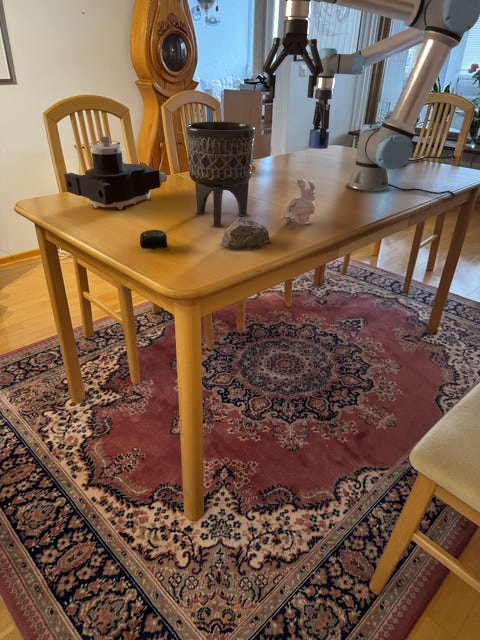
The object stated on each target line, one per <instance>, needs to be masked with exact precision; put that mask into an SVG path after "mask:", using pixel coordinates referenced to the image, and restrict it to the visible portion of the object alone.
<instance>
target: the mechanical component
mask: <svg viewBox="0 0 480 640" xmlns="http://www.w3.org/2000/svg"><path fill="white" fill-rule="evenodd" d="M122 149H123V148H122V145H121V144H118V143H111V139H110V136H109V135H103V136H100V143H97V144H93V145H91V146H90V151H91V157H92V165H93V167H92V168H88V169H86V171H85V172H84V173H85V174H78V173H73V172H68V173H67V172H66V173H64V174H63V176H64V181H65V186H66V192H67V193H69V194H72V195H75V196H78V197H83V198H85V199H88V201H89V203H90V204H91V205H93V206H94V207H93V208H95V209H98V208H100V207H102V208H117V210H123V207H124V206H128V205H136V204H137V202H138V201H143V200H146V201H148V200H150V196H151V190H155V189H160V188H161V186H162V184H163V183H165V182H167V180H168V176H167V174H166V172H162V171H161V172H160V170H159V169H155V168H152V167H149V166H147V165H145V164H141V163H124V160H123V150H122Z"/></svg>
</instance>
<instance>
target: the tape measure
mask: <svg viewBox="0 0 480 640" xmlns="http://www.w3.org/2000/svg"><path fill="white" fill-rule="evenodd" d="M167 236H168V235H167V234H166V232H165V231H164V230H161V229H147V230H144V231H143V232H141V233H140V235H139V240H140V241H139V245H140V246H139V247H141V248H142V249H146V250H157V249H167V248H168V240H167V239H168V237H167Z"/></svg>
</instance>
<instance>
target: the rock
mask: <svg viewBox="0 0 480 640" xmlns="http://www.w3.org/2000/svg"><path fill="white" fill-rule="evenodd" d="M269 241H270V233H269V230H268V229H267V228H266V226H265V225H263V224H261V223H259V222H256V221H255V220H252V219H247V218H245V217H241V216H238V217H237V218H236V219H235V221H234V222H233V223H232V224H231V225H229V226H228V227H227V228H226V229H225V231H224V233H223V236H222V239H221V244H222V247H224V248H229V249H231V250H245V249H254V248H257V247H259V246H260V245H264V244H266V242H269Z"/></svg>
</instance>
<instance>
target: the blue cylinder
mask: <svg viewBox="0 0 480 640" xmlns="http://www.w3.org/2000/svg"><path fill="white" fill-rule="evenodd" d="M319 137H320V129H314V128H312V129H309V136H308V148H310V149H314V150H315V149H317V150H325V149H328V148H329V142H330V141H329V140H330V130H329V129H327V131H326V140H325V145H319Z"/></svg>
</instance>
